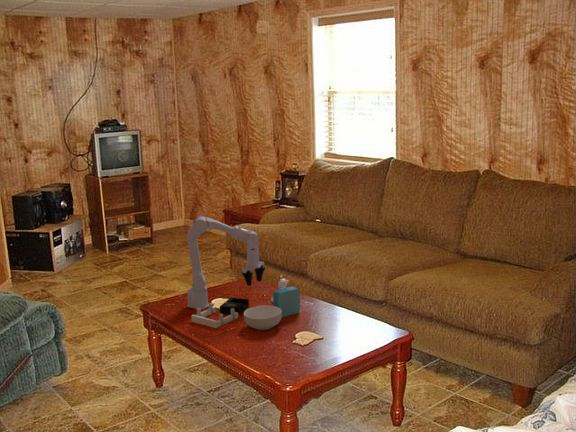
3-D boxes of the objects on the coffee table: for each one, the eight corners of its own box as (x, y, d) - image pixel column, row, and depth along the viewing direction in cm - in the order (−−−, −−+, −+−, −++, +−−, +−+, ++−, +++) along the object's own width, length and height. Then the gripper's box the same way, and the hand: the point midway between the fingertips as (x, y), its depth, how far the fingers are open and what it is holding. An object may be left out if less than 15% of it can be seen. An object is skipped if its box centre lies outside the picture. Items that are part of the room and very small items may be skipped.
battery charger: (238, 316, 296) (238, 308, 295) (219, 314, 299) (219, 306, 298) (249, 306, 308) (248, 299, 307) (231, 305, 311) (230, 297, 310)
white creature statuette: (284, 297, 319) (283, 274, 317) (296, 301, 313) (295, 277, 311) (270, 301, 313) (269, 278, 311) (281, 305, 307) (281, 282, 305)
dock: (191, 321, 290) (190, 311, 289) (214, 311, 302) (213, 301, 301) (216, 328, 281) (216, 317, 280) (238, 317, 293) (238, 307, 292)
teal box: (294, 309, 301) (294, 285, 299) (300, 312, 298) (299, 288, 295) (273, 315, 295) (272, 291, 292) (279, 318, 291) (278, 293, 288)
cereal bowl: (260, 317, 293) (259, 302, 292) (289, 324, 284) (289, 309, 282) (236, 329, 280) (235, 314, 278) (266, 337, 270) (266, 321, 269)
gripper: (249, 261, 299) (250, 288, 302) (268, 254, 311) (269, 280, 313) (238, 259, 303) (239, 286, 306) (257, 252, 315) (258, 278, 318)
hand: (254, 283), depth 310 cm, fingers open, 7 cm apart
